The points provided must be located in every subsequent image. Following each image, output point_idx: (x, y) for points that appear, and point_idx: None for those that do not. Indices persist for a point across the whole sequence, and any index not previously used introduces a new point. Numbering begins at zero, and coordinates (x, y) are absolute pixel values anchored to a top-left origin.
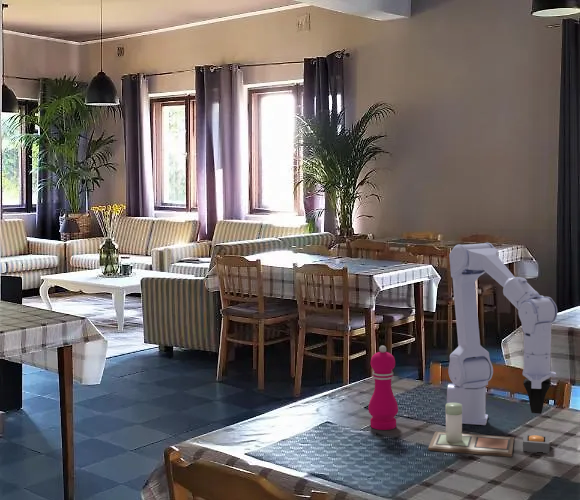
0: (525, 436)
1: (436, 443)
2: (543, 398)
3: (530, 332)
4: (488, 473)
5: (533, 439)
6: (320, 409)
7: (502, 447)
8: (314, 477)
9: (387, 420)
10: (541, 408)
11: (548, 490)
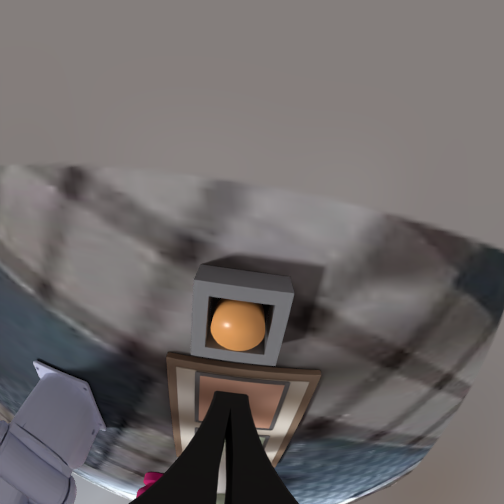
0: (217, 354)
1: None
2: (273, 467)
3: None
4: (407, 395)
5: (260, 340)
6: (126, 491)
7: (272, 391)
8: (362, 493)
9: None
10: (251, 416)
11: (498, 299)
